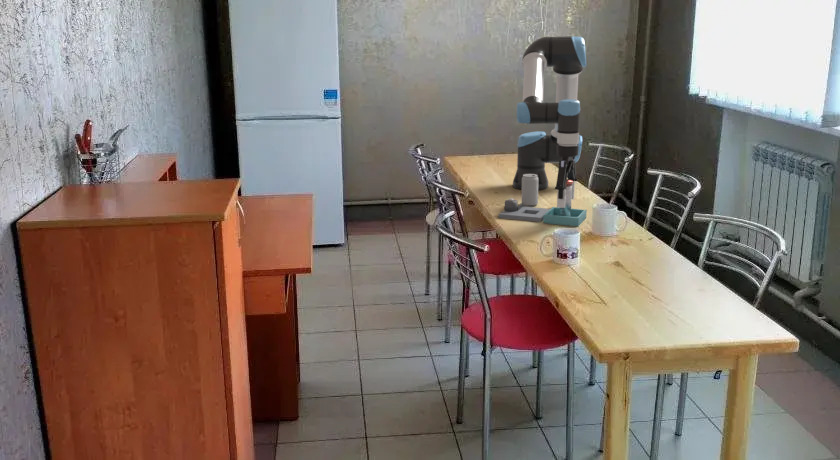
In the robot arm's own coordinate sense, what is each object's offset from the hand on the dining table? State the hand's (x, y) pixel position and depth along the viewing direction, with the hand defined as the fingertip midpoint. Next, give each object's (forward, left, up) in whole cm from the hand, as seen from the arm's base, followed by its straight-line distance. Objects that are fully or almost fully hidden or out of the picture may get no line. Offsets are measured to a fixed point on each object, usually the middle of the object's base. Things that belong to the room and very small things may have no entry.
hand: (565, 203), depth 283 cm
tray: (0, 0, -6) cm, 6 cm away
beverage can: (-18, -19, -7) cm, 27 cm away
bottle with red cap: (0, 0, -6) cm, 6 cm away
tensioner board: (-2, -16, -6) cm, 17 cm away
